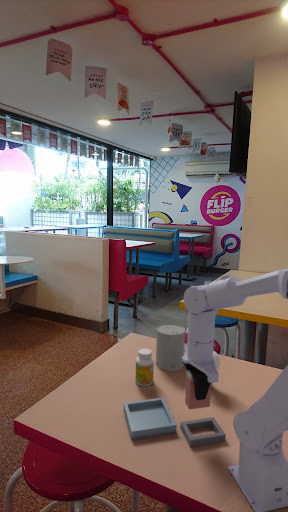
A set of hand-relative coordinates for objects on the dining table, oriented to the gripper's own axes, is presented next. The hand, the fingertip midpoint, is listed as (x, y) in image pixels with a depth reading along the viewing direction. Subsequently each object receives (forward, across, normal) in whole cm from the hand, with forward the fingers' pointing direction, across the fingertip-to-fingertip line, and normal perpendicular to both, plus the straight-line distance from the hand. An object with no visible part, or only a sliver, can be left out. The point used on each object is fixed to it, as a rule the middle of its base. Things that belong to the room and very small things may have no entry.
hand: (197, 394), depth 68 cm
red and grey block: (+2, 0, 0) cm, 2 cm away
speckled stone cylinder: (+10, -32, +4) cm, 34 cm away
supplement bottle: (+10, -23, -7) cm, 26 cm away
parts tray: (+10, -6, -10) cm, 15 cm away
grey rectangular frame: (+9, +1, +1) cm, 10 cm away
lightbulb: (+10, -17, +11) cm, 23 cm away
